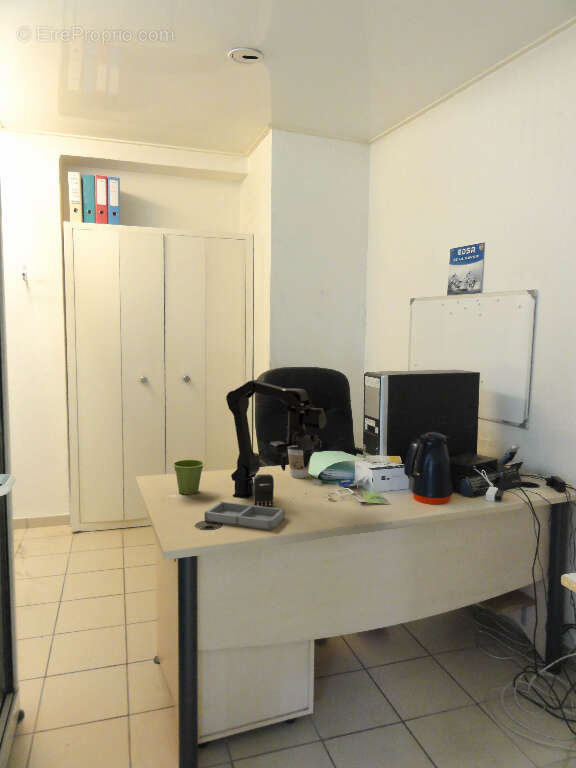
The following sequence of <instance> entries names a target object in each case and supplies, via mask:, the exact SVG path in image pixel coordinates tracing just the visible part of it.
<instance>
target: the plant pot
mask: <svg viewBox="0 0 576 768" xmlns="http://www.w3.org/2000/svg"><path fill="white" fill-rule="evenodd" d="M172 466H173V467H174V471H175V475H176V481H177V487H178V493H179V492H180V493H179V494H183V495H185V494H188V495H194V494H193V493H196V492H197V493H198V492H199V490H200V484H201V483H200V482H201V477H202V471H203V469H204V466H205V462H204V461H202V460H200V459H199V460H198V459H181V460H176V461H174V462H173V463H172ZM197 493H196V494H197Z"/></svg>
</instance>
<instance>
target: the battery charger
mask: <svg viewBox="0 0 576 768" xmlns="http://www.w3.org/2000/svg"><path fill="white" fill-rule="evenodd" d="M274 482H275V481H274V476H273V475H272V474H270V473H261V474H260V473H259V474H258V473H257V474H256V476H255V477H253V483H254V494H253V499H254V500H253V505H254V506H262V507H271V508H273V506H274V489H275V483H274Z"/></svg>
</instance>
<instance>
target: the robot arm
mask: <svg viewBox="0 0 576 768" xmlns="http://www.w3.org/2000/svg"><path fill="white" fill-rule="evenodd" d="M255 393H256V394H260V395H263V396H267V397H269V398H274V399H278V400H280V401H282V403H283V404H285V405H286V407H284V408H283V409H282V411H283V412H286V413H288V415H287V417H288V419H287V421H288V422H287V426H285V431H287V438H285V442H283V441H281V440H279V441H278V440H277V441H276V440H275V441H270V443H269V444H268V450H269V451H271V452H272V453H274V455H275V457H276V458H277V460H278V463H279V465H280V467H281V469H282V471H284V472H285V471H286V467H287V465H286V463H287V458H286V457H287V455H288V448H296V447H299V448H300V450H302V451H303V461H304V467H305V468H307V466H308V463H309V461H310V462H311V457H312V456H313V454H314V453H315V452H317V451H318V450H319V449H321V448H322V441H321V440H320V439H319V436H318V435H317V434H311V435H309V434H308V431H307V428H314V429H319V430H322V429H324V428H325V427H326V425H327V424H326V423H327V416H326V413H325V412H324V411H325V409H324V408H316V407H314V405H313V404H312V402H311V399H309V396H308V393H307V390H305V389H303V388H295V387H294V388H287V387H286V388H285V387H281V386H278V385H274V384H270V383H266V382H263V381H261V380H258V379H252V380H247V382H245V384H242V385H241V386H239V387H237V388H236V389H234V390H231V391H229V392H227V395H226V397H225V400H226V404H227V407H228V410H229V411H230V412H231V414H232V415H233V420H234V421H233V422H234V426H235V434H236V439H237V444H238V445H237V447H238V453H239V454H238V457H237V460H236V470H234V472H232V473H231V475H230V477H231V481H233V482H234V493H233V494H232V496H233V497H237V498H245V499H249V498H251V497H252V496H254V477H255V476H256V475H257V474H258V472H259V471H260V468H261V465H262V464H261V461H260V455H259V454H255V452H254V450H253V446H252V440H251V432H250V427H249V421H248V409H249V407H250V398H252V397H253V396H255ZM305 427H306V428H305Z"/></svg>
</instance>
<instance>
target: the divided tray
mask: <svg viewBox="0 0 576 768" xmlns="http://www.w3.org/2000/svg"><path fill="white" fill-rule="evenodd" d="M284 519H285V508H280V507H279V508H278V507H262V506H254V504H246V503H235V502H231V501H230V502H228V501H220V502H218V503H216V504H215V505H214V506H212V507H210V508H209V509H208V510H206V511H204V522H205V521H209V522H208V523H212V522H217V523H216V524H219V523H222V524H221V525H226V524H228V525H227V526H235V527H241V528H249V529H255V530H262V531H269V532H270V531H273V530H274V529H273V528H274V527H275V528H276V527H277V526H278V525H279V524H280V523H281V522H282V521H284Z"/></svg>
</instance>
